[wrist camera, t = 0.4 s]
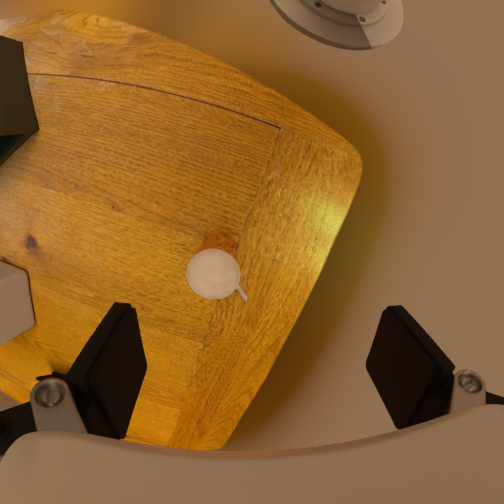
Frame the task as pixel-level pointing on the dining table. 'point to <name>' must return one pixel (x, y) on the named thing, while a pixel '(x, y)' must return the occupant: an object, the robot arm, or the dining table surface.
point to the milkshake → (215, 268)
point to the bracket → (14, 302)
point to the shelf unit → (14, 99)
